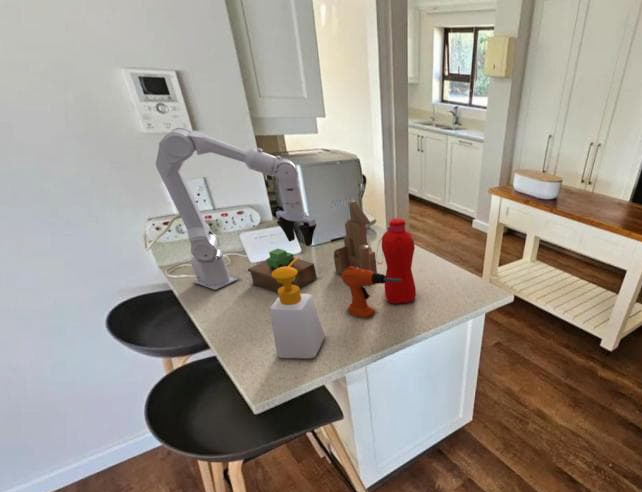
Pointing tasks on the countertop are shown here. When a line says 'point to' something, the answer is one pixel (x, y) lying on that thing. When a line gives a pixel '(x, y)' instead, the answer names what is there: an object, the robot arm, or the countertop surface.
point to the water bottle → (398, 262)
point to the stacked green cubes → (279, 258)
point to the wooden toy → (355, 244)
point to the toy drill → (362, 289)
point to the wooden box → (272, 284)
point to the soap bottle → (294, 318)
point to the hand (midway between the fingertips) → (300, 242)
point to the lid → (267, 271)
